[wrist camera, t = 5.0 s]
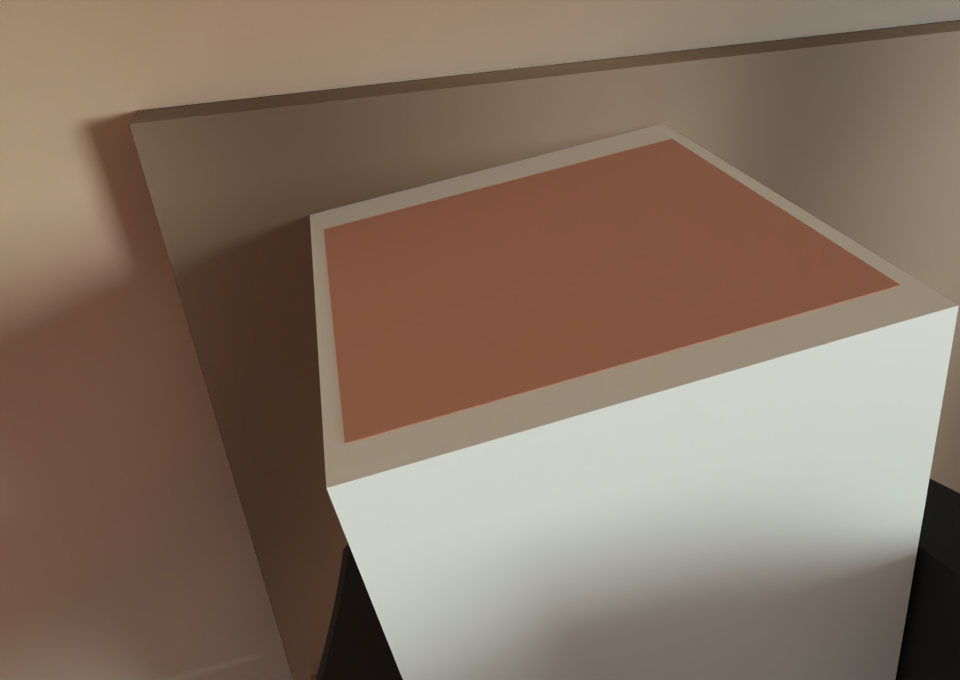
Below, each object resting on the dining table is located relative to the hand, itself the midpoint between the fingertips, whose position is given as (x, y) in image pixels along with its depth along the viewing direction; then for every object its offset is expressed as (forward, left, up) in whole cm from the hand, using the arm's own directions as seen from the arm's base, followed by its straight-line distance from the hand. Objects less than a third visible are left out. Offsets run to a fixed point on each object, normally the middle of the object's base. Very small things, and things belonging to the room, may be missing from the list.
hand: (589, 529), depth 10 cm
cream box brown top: (0, 0, -2) cm, 2 cm away
